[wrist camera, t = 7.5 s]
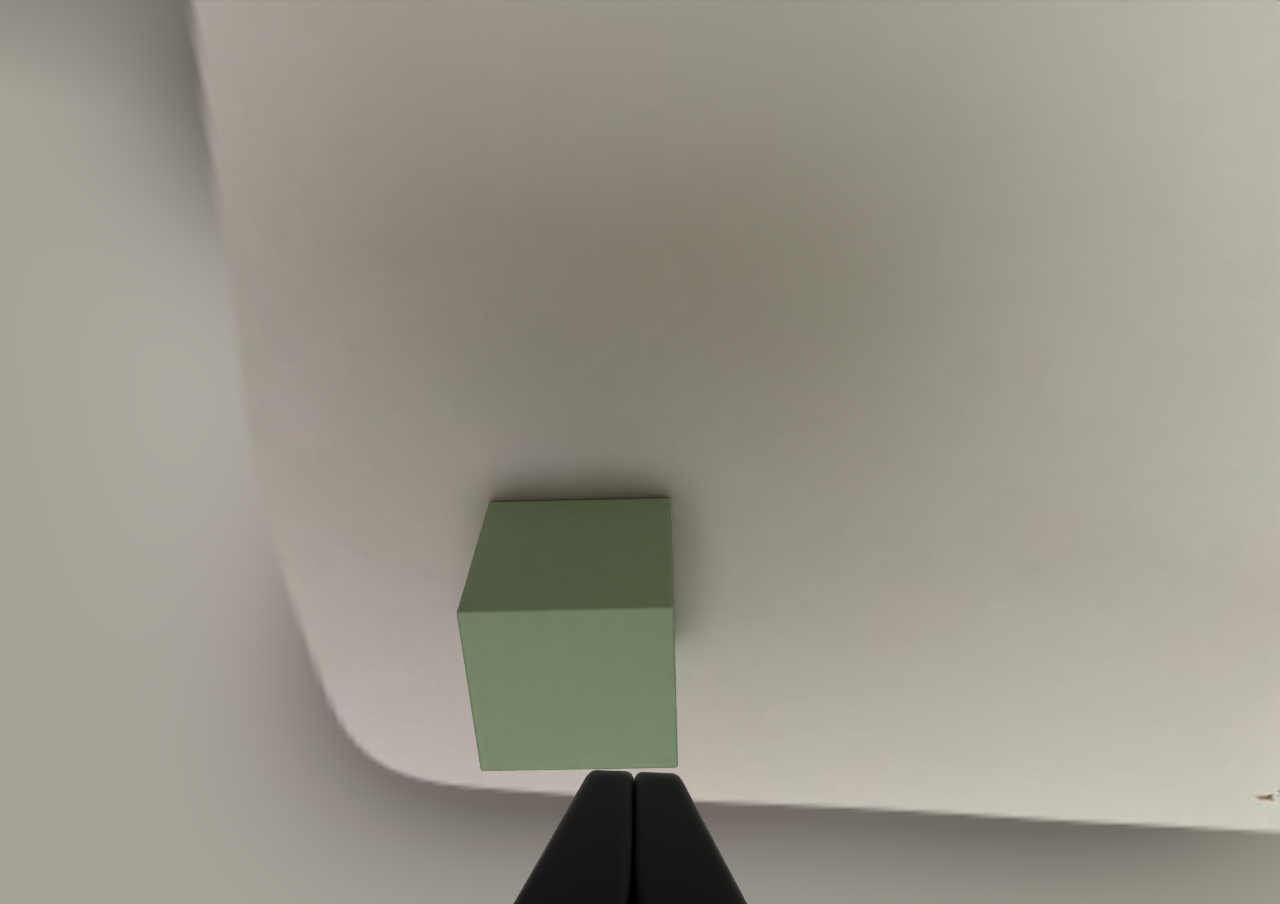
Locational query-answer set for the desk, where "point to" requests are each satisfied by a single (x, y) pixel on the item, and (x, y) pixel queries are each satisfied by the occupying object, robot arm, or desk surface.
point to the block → (572, 635)
